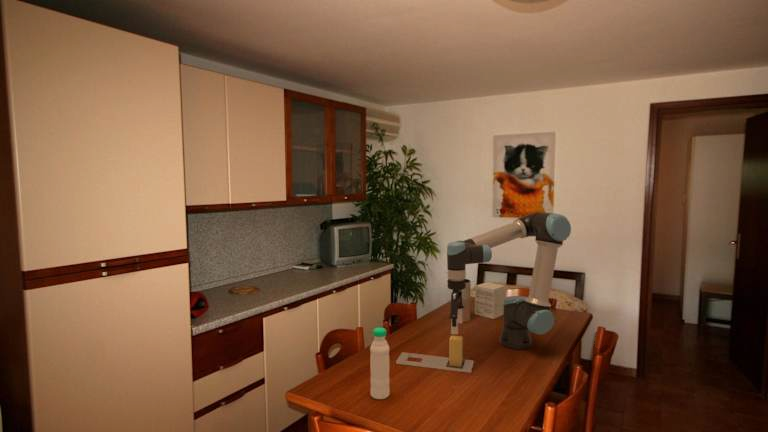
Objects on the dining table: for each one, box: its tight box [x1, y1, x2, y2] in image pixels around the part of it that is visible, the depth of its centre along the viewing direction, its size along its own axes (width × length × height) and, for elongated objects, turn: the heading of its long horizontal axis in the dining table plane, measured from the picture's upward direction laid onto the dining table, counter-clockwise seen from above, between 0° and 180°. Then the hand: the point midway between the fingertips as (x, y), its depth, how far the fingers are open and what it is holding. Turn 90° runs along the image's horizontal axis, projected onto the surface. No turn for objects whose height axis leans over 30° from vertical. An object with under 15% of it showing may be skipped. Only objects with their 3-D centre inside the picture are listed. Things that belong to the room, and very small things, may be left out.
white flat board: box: [395, 352, 475, 374], centre depth 189 cm, size 32×10×1 cm, turn 73°
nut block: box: [448, 334, 464, 367], centre depth 186 cm, size 5×5×12 cm
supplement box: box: [474, 281, 507, 320], centre depth 258 cm, size 13×13×18 cm
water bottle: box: [369, 327, 391, 400], centre depth 160 cm, size 7×7×25 cm
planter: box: [453, 278, 472, 323], centre depth 248 cm, size 10×10×23 cm
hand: (456, 328), depth 185 cm, fingers open, 13 cm apart
